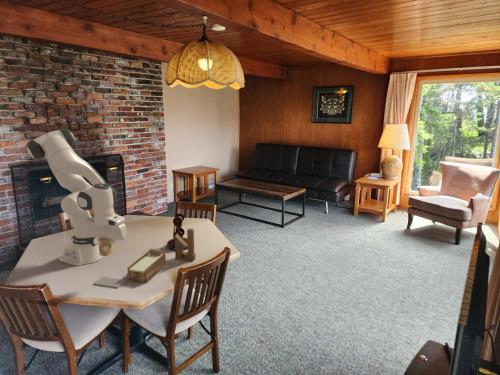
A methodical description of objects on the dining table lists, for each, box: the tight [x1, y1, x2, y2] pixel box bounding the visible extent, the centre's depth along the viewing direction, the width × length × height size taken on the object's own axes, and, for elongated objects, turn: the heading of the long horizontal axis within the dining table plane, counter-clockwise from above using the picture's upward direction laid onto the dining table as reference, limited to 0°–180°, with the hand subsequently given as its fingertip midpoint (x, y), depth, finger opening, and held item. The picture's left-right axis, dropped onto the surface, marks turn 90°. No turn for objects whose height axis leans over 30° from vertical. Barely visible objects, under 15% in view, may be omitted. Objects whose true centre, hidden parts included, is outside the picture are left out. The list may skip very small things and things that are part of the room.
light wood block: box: [98, 238, 116, 257], centre depth 163 cm, size 4×7×8 cm, turn 166°
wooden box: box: [127, 251, 167, 284], centre depth 178 cm, size 10×20×7 cm, turn 167°
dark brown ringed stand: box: [166, 212, 188, 250], centre depth 211 cm, size 15×15×20 cm
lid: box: [129, 248, 164, 273], centre depth 177 cm, size 8×20×4 cm, turn 166°
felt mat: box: [93, 276, 127, 289], centre depth 168 cm, size 13×7×1 cm, turn 77°
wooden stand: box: [174, 228, 196, 262], centre depth 193 cm, size 4×11×18 cm, turn 78°
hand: (107, 246), depth 164 cm, fingers closed on light wood block, 3 cm apart
